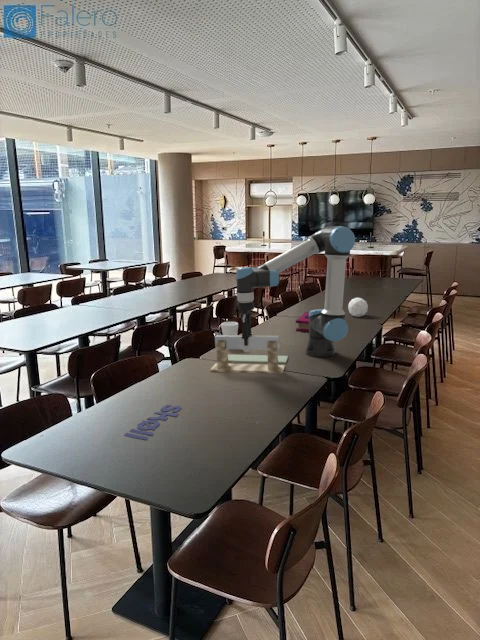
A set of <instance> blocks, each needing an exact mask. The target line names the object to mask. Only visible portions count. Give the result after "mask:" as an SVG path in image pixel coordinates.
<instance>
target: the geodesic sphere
mask: <svg viewBox="0 0 480 640" xmlns="http://www.w3.org/2000/svg"><path fill="white" fill-rule="evenodd" d="M368 307H369V305H368V303H367V300H365V299H363V298H362V297H353V298H352V299H351V300H350V301H349V303H348V307H347V310H348V312H349V314H351V315H352V316H353V317H357V318H360V317H363V316H365V315H366V314H367V312H368Z"/></svg>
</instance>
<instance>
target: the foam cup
mask: <svg viewBox="0 0 480 640" xmlns="http://www.w3.org/2000/svg"><path fill="white" fill-rule="evenodd" d="M220 326H221V332H222V335H238V331H239V323H238V322H237V321H224V322H222V323H221V324H220Z"/></svg>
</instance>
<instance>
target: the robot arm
mask: <svg viewBox="0 0 480 640" xmlns="http://www.w3.org/2000/svg"><path fill="white" fill-rule="evenodd" d="M355 242H356V237H355V234H354V231H352V230H351V229H350V228H348V227H346V226H341V225H339V226H337V225H336V226H335V225H329V226H326V227H323V228H321V229H319V230H318V231H316V232H315V233H313V234H311V235H309V236H308V237H307V239H306V240H305V241H303V242H301V243H299V244H298V245H296V246H294V247H292V248H290V249H288V250H287V251H285V252H283V253H280V254H279V255H277V256H275V257H274V258H273V259H269V260H268V261H267V262H265V263H263V264H261V265H259V266H255V267H251V266H244V267H243V266H242V267H238V268H237V269H236V277H235V278H236V291H237V292H236V294H235V297H237V299H236V301H238V302H237V310H238V311H241V313H242V314H241V315H240V317H241V318H240V323H241V335H242V337H241V338H242V339H243V347H244V349H243V352H244V353H250V351H251V350H250V346H249V335H253V334H252V312H251V311H253V310H255V302H254V300H255V295H254V294H255V293H254V289H257V288H273V287H277V286H279V283H280V275H279V274H280V273H282V272H284V271H285V270H287V269H289V268H291V267H293V266H295V265H296V264H298V263H300V262H302V261H304V260H305V259H307V258H309V257H311V256H312V255H319V254H320V253H323V252H324V256H325V257H326V259H327V260H326V261H327V263H326V265H327V266H326V275H325V277H326V279H325V294H324V295H325V296H324V306H323V307H324V308H319V309H312V310H310V311H308V312H309V332H308V336H309V337H308V341H307V343H306V347H305V354H307V355H308V356H311V357H318V358H324V357H332V356H334V355H335V354H336V347H335V344H334V342H339V341H342V340H343V339H344V338H345V337H346V336H347V334H348V332H349V325H348V322H347V321H346V312H345V311H344V310H343V304H344V294H345V293H344V291H345V281H346V280H345V279H346V265H347V260H348V258H349V257H350V256H351V250H352V249H353V248H354V247H355V244H356V243H355Z"/></svg>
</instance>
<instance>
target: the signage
mask: <svg viewBox="0 0 480 640" xmlns="http://www.w3.org/2000/svg"><path fill="white" fill-rule="evenodd" d="M181 410H182V406H181V405H175V406H172V405H171V404H166V405H164V406H162V407H161V408H160V411H156V412H154V415H158V416H155V417H154V416H151V417H147V418H146V419H143V420H142V421H141V422H139V423H138V424H137V429H135V428H131V429H130V430H129V431H128V432H126V433H124V435H123V437H126V438H132V439H138V440H144V441H148V439H149V438H150V436H151V437H153V436H154V434H155V433H154V432H155V430H156V429H157V428H159V426H160V425H161V424H160V423H161V422H159V420H160V421H164V422H165V421H167V420H168V419H169V418H168V417H175V418H177V417H178V416H179V412H180V411H181ZM170 411H171V412H170ZM152 424H153V425H152ZM151 430H152V431H153V432H152V431H151ZM148 436H149V437H148Z"/></svg>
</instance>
